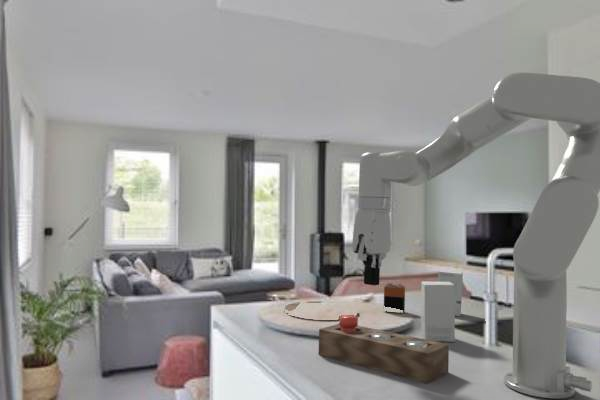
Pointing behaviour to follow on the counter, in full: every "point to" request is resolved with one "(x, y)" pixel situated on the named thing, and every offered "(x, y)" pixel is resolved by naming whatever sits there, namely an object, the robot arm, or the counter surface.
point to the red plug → (348, 323)
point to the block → (386, 352)
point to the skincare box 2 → (457, 280)
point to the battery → (394, 296)
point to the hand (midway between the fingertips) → (371, 284)
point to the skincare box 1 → (438, 311)
